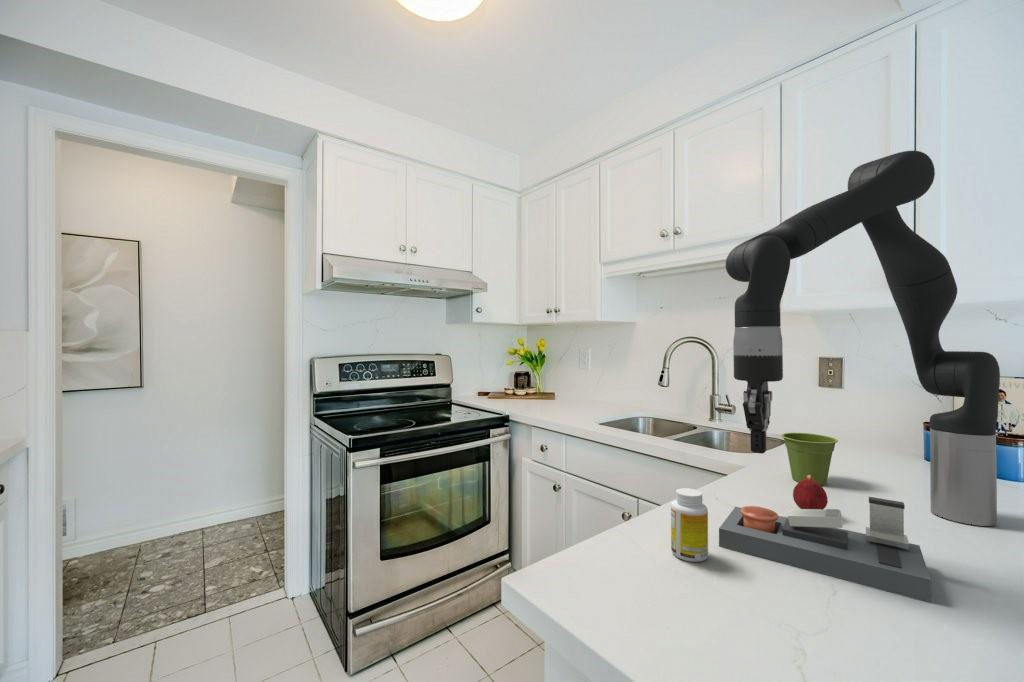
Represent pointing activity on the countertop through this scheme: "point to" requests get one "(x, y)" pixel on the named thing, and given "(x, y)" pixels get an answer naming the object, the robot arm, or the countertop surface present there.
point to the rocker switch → (815, 518)
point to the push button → (759, 518)
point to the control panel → (833, 554)
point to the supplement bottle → (689, 526)
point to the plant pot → (809, 455)
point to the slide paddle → (887, 523)
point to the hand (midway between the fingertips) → (758, 452)
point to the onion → (810, 494)
